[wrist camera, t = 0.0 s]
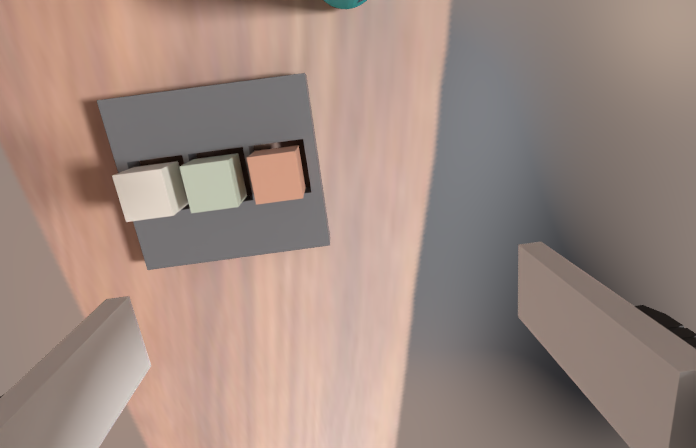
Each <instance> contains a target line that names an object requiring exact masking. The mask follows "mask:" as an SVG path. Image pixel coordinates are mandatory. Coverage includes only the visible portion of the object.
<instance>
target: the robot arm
mask: <svg viewBox="0 0 696 448" xmlns="http://www.w3.org/2000/svg"><path fill="white" fill-rule="evenodd" d="M518 262H519V263H518V264H519V265H518V317H519V318H520V319H521V320H522V322H523V323H524V324H525V325H526V326H527V328H529V330H530V331H531V332H532V333H533V335H534V336H535V337H536V338H537V339H538V340H539V341H540V343H541V344H542V345H543V346H544V347H545V348H546V350H547V351H548V352H549V353H550V354H551V356H552V357H553V358H554V359H555V360H556V361H557V363H558V364H559V365H560V366H561V367H562V368H563V370H564V371H565V372H566V373H567V374H568V375H569V376H570V378H571V379H572V380H573V381H574V382H575V384H576V385H577V386H578V387H579V388H580V389H581V391H582V392H583V393H584V394H585V395H586V396H587V397H588V399H589V400H590V401H591V402H592V403H593V404H594V406H595V407H596V408H597V409H598V410H599V411H600V413H601V414H602V415H603V416H604V417H605V419H606V420H607V421H608V422H609V423H610V424H611V426H612V427H613V428H614V429H615V430H616V431H617V433H618V434H619V435H620V436H621V437H622V438H623V440H624V441H625V442H626V443H627V444H628V445H629V446H630V448H696V334H695V333H694V332H693V331H691V330H689V329H688V328H684V326H683V325H682V324H680V323H679V322H677V321H676V320H674V319H672V318H671V317H670V316H668V315H666V314H664V313H662V312H659V311H657V310H654V309H652V308H649V307H646V306H644V305H640V306H633V305H632V304H630V303H629V302H627V301H626V300H624V299H623V298H622V297H620V296H619V295H617V294H616V293H614V292H613V291H611V290H610V289H608V288H607V287H606V286H604V285H603V284H601V283H600V282H598V281H597V280H595V279H594V278H593V277H591V276H590V275H588V274H587V273H585V272H584V271H583V270H581V269H580V268H578V267H577V266H575V265H574V264H572V263H571V262H570V261H568V260H567V259H565V258H564V257H562V256H561V255H559V254H558V253H557V252H555V251H554V250H552V249H551V248H549V247H548V246H546V245H545V244H543V243H542V242H536V243H528V244H521V245H519V259H518ZM150 367H151V363H150V360H149V357H148V354H147V351H146V348H145V344H144V341H143V338H142V335H141V332H140V329H139V326H138V322H137V319H136V316H135V313H134V310H133V307H132V304H131V300H130V297H129V296H127V297H119V298H112V299H106V300H105V301H104V302H103V303H102V304H101V305H99V306H98V307H97V308H96V309H95V310H94V311H93V312H92V313H91V314H90V315H89V316H88V317H87V318H86V319H84V320H83V321H82V322H81V323H80V324H79V325H78V326H77V327H76V328H75V329H74V330H73V331H72V332H71V333H70V334H68V335H67V336H66V338H64V339H63V340H62V341H61V342H60V343H59V344H58V345H57V346H56V347H55V348H54V349H52V350H51V351H50V352H49V353H48V354H47V355H46V356H45V357H44V358H43V359H42V360H41V361H40V362H38V363H37V364H36V365H35V366H34V367H33V368H32V369H31V370H30V371H29V372H28V373H27V374H26V375H25V376H23V377H22V378H21V379H20V380H19V381H18V382H17V383H16V384H15V385H14V386H13V387H12V388H11V389H10V390H9V391H7V392H6V393H5V394H4V395H2V396H1V397H0V448H99V446H100V445H101V443H102V441H103V440H104V438H105V437H106V435H107V434H108V432H109V430H110V429H111V427H112V426H113V424H114V423H115V421H116V419H117V418H118V417H119V415H120V414H121V412H122V410H123V409H124V407H125V406H126V404H127V403H128V401H129V400H130V398H131V396H132V395H133V393H134V392H135V390H136V389H137V387H138V386H139V384H140V382H141V381H142V379H143V378H144V376H145V375H146V373H147V372H148V370H149V368H150Z"/></svg>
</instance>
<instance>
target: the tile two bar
mask: <svg viewBox="0 0 696 448" xmlns="http://www.w3.org/2000/svg"><path fill="white" fill-rule="evenodd" d="M179 167H180V171H181V175H182V179H183V183H184V187H185V191H186V195H187V199H188V203H189V207H190V211H191V213H198V212H205V211H213V210H220V209H228V208H235V207H239V206H240V204H241V203H242V202H243V200H244V199H245V198H246V197H247V193H246V188H245V183H244V178H243V173H242V169H241V164H240V159H239V154H238V153H236V154H228V155H221V156H213V157H206V158H198V159H193V160H191V161H189V162H187V163H185V164H183V165H181V166H179Z"/></svg>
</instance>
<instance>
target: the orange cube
mask: <svg viewBox="0 0 696 448" xmlns="http://www.w3.org/2000/svg"><path fill="white" fill-rule="evenodd" d="M247 162H248V167H249V172H250V177H251V182H252V187H253V192H254V197H255V202H256V205H257V204H265V203H272V202H280V201H287V200H295V199H302V198H303V197H304V192H305V182H304V176H303V170H302V163H301V157H300V151H299V145H296V146H288V147H281V148H273V149H266V150H258V151H254V152H253V153H252V154H250V155H249V156H248V157H247Z"/></svg>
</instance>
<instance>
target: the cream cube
mask: <svg viewBox="0 0 696 448" xmlns="http://www.w3.org/2000/svg"><path fill="white" fill-rule="evenodd" d="M112 178H113V181H114V184H115V187H116V191H117V194H118V197H119V200H120V204H121V207H122V210H123V213H124V217H125V220H126V222H131V221H138V220H146V219H153V218H161V217H168V216H174V215H175V214H176V213H178V212H179V211H180V210H181V209H183V208H184V207H185V206H186V205H188V204H189V203H188V199H187V195H186V191H185V187H184V183H183V179H182V175H181V171H180V168H179V164H178V161H176V162H168V163H161V164H153V165H146V166H138V167H133V168H130V169H128V170H125V171H122V172H120V173H117V174H115V175H112Z"/></svg>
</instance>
